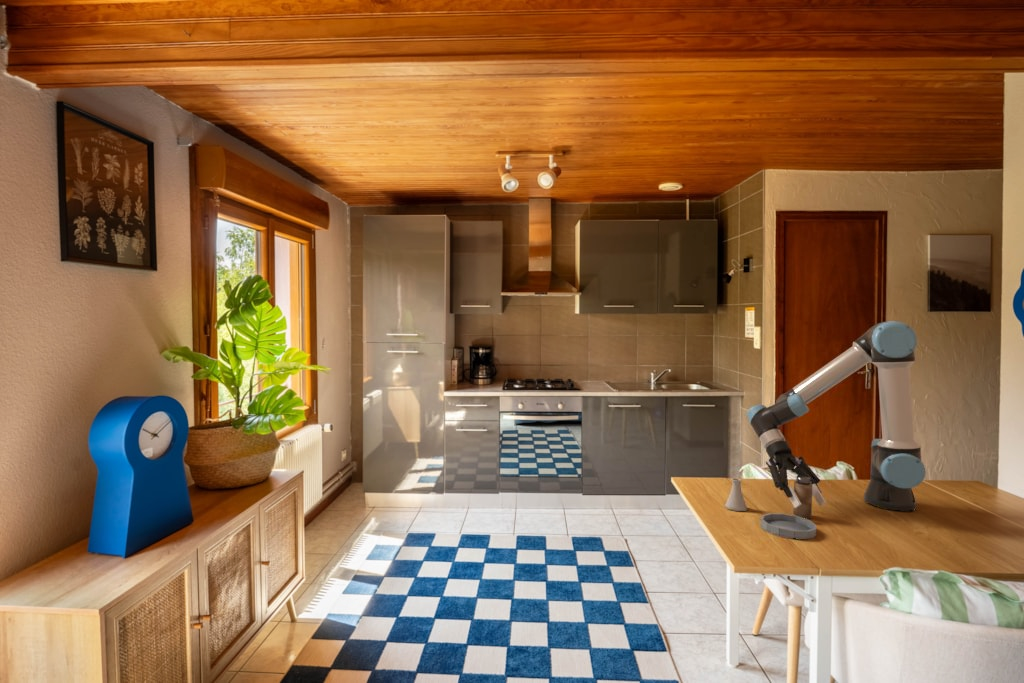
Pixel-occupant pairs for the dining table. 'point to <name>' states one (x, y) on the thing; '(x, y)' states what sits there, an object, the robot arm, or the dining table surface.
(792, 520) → the round grey tray
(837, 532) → the dining table surface
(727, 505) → the flask
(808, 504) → the pepper mill
